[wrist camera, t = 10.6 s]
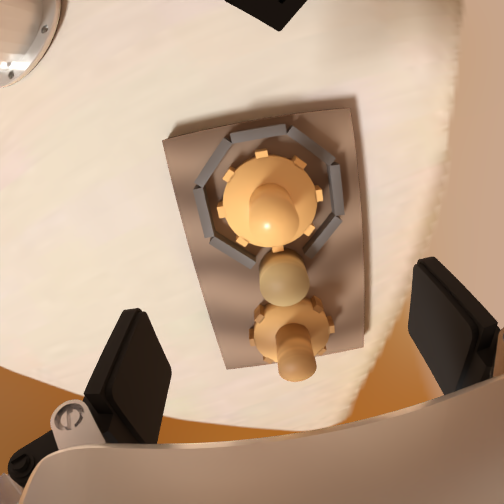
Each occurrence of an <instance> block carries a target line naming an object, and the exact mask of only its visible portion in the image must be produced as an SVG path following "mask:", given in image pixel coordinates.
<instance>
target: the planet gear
mask: <svg viewBox="0 0 504 504" xmlns="http://www.w3.org/2000/svg"><path fill="white" fill-rule="evenodd" d="M306 165H307V164H306V163H305V162H304V161H303V160H301V159H300V158H299V157H297V156H296V155H294V156H293V157H292V159H289V158H287V157H284V156H281V155H276V154H268V152H267V149H266V148H264V149H258V150H255V156H254V157H252V158H249V159H248V160H246V161H244V162H243V163H241V164H240V165H239V166H238V167H237V168H236V169H235V168H233V167H232V166H230V167H229V168H228V170H227V171H226V173H225V174H224V176H223V178H222V179H223V180H225V181H226V182H227V184H226V187H225V191H224V195H223V201H221V202H219V203H218V205H217V211H218V215H219V218H226V220H227V222H228V224H229V226H230V227H231V229H232V230H233V231H234V232H235V233H236V234H237V235H236V242H238V243H239V244H241V245H242V246H244V247H246V245H247V244H248V243H251V244H253V245H257V246H261V247H272V250H273V253H274V252H280V251H284V247H283V245H286V244H288V243H290V242H292V241H294V240H296V239H297V238H299V237H300V236H301V235H302V234H306V235H307V236H309V235H310V234H311V233H312V231H313V230H314V229H315V226H314V224H313V222H312V221H313V219H314V216H315V214H316V209H317V202H319V201H323V195H322V189H321V188H320V187H319V186H318V185H314V184H313V182H312V180H311V178H310V177H309V176H308V174H307V173H306V172H305V171H304V170H303V169H304V168H305V166H306Z"/></svg>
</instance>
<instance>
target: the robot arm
mask: <svg viewBox="0 0 504 504" xmlns="http://www.w3.org/2000/svg"><path fill="white" fill-rule="evenodd" d="M60 8H61V0H0V88H1V87H6V86H10V85H12V84H14V83H16V82H18V81H20V80H21V79H22V78H23V77H25V76H26V75H27V74H28V73H29V72H30V71H31V70H32V69H33V68H34V67H35V66H36V65H37V63H38V62H39V61H40V59H41V58H42V57H43V55H44V53H45V52H46V50H47V48H48V47H49V45H50V43H51V41H52V38H53V36H54V34H55V31H56V28H57V25H58V22H59V16H60ZM497 324H498V322H497V321H496V320H495V319H494V318H493V316H492V315H491V314H490V313H489V312H488V311H487V310H486V309H485V308H484V307H483V305H482V304H481V303H480V302H479V301H478V300H477V299H476V298H475V297H474V296H473V295H472V294H471V293H470V292H469V291H468V290H467V289H466V288H465V286H464V285H463V284H462V283H461V282H460V281H459V280H458V279H456V277H455V276H454V275H453V274H451V272H450V271H449V270H448V269H446V268H445V266H443V265H442V264H441V263H440V262H439V261H438V260H437V259H436V258H435V257H428V258H424V259H419V260H418V262H417V264H415V265H414V268H413V280H412V292H411V303H410V312H409V321H408V331H409V334H410V336H411V338H412V339H413V341H414V342H415V344H416V346H417V348H418V349H419V351H420V353H421V354H422V356H423V358H424V359H425V361H426V363H427V365H428V367H429V368H430V370H431V372H432V374H433V375H434V377H435V379H436V381H437V383H438V384H439V386H440V388H441V390H442V392H443V394H444V396H441V397H438V398H435V399H432V400H429V401H426V402H423V403H420V404H417V405H414V406H411V407H408V408H404V409H401V410H397V411H394V412H390V413H387V414H383V415H379V416H376V417H372V418H368V419H364V420H360V421H355V422H351V423H347V424H342V425H337V426H333V427H328V428H323V429H317V430H312V431H306V432H301V433H294V434H288V435H281V436H274V437H265V438H257V439H248V440H238V441H225V442H210V443H188V444H187V443H186V444H157V441H158V435H159V431H160V426H161V421H162V417H163V412H164V407H165V402H166V398H167V393H168V389H169V384H170V380H171V375H172V372H171V367H170V364H169V362H168V360H167V358H166V356H165V354H164V352H163V349H162V347H161V345H160V343H159V341H158V338H157V336H156V334H155V331H154V329H153V327H152V325H151V322H150V320H149V317H148V315H147V313H146V312H142V311H141V309H139V308H136V309H128V310H124V311H123V312H122V314H121V316H120V318H119V320H118V322H117V324H116V326H115V328H114V330H113V332H112V334H111V336H110V338H109V340H108V342H107V344H106V346H105V348H104V350H103V352H102V354H101V356H100V358H99V361H98V363H97V365H96V367H95V369H94V371H93V374H92V376H91V378H90V380H89V382H88V385H87V387H86V389H85V391H84V395H85V397H84V399H83V401H81V400H70V401H67V402H64V403H63V404H61V405H60V406H59V407H58V408H57V409H56V410H55V411H54V413H53V415H52V417H51V428H52V430H51V431H49V432H47V433H46V434H44V435H43V436H41V437H39V438H38V439H36V440H34V441H33V442H31V443H29V444H28V445H26V446H25V447H23V448H21V449H20V450H18V451H17V452H16V453H14V454H13V456H12V457H11V458H10V461H9V463H8V475H6V474H4V473H3V474H2V475H1V476H0V504H504V328H503V329H501V330H500V329H499V327H498V326H497Z"/></svg>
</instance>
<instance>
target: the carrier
mask: <svg viewBox="0 0 504 504" xmlns="http://www.w3.org/2000/svg"><path fill="white" fill-rule="evenodd" d="M162 142H163V147H164V151H165V155H166V159H167V164H168V168H169V172H170V176H171V180H172V184H173V188H174V192H175V196H176V200H177V204H178V208H179V211H180V215H181V219H182V223H183V227H184V230H185V234H186V238H187V241H188V245H189V248H190V252H191V256H192V259H193V263H194V266H195V270H196V273H197V276H198V280H199V283H200V287H201V290H202V293H203V297H204V300H205V303H206V307H207V310H208V313H209V316H210V320H211V323H212V326H213V329H214V332H215V335H216V339H217V342H218V345H219V348H220V351H221V354H222V357H223V360H224V363H225V366H226V369H235V368H243V367H251V366H259V365H266V364H273V363H278V370H279V374H280V376H281V377H282V378H283V379H285V380H287V381H292V382H298V381H303V380H305V379H308V378H309V377H311V376H312V375H313V374H314V373H315V371H316V361H315V357H316V356H322V355H327V354H332V353H337V352H342V351H347V350H352V349H357V348H361V347H364V252H363V230H362V214H361V200H360V187H359V176H358V166H357V157H356V148H355V140H354V132H353V125H352V118H351V111H350V108H341V109H331V110H321V111H313V112H305V113H297V114H290V115H283V116H276V117H270V118H264V119H258V120H252V121H247V122H241V123H236V124H231V125H226V126H221V127H216V128H211V129H206V130H202V131H198V132H193V133H189V134H185V135H180V136H176V137H172V138H168V139H165V140H162ZM264 148H266V149H267V152H268V154H276V155H281V156H284V157H287V158H289V159H292V157H293V156H294V155H296V156H297V157H299V158H300V159H301V160H303V161H304V162H305V163H306V164H307V165H306V166H305V168H304V169H303V170H304V171H305V172H306V173H307V174H308V176H309V177H310V178H311V180H312V182H313V184H314V185H318V186H319V187H320V188H321V189H322V195H323V201H319V202H317V209H316V214H315V216H314V219H313V221H312V222H313V224H314V226H315V229H314V230H313V231H312V233H311V234H310V235H309V236H307V235H306V234H302V235H301V236H300V237H299V238H297V239H296V240H294V241H292V242H290V243H288V244H286V245H283V247H284V251H280V252H274V253H273V250H272V247H261V246H257V245H253V244H251V243H248V244H247V245H246V247H244V246H242V245H241V244H239V243H238V242H236V235H237V234H236V233H235V232H234V231H233V230H232V229H231V227H230V226H229V224H228V222H227V220H226V218H219V215H218V211H217V205H218V203H219V202H221V201H223V195H224V191H225V187H226V184H227V182H226V181H225V180H223V179H222V178H223V176H224V174H225V173H226V171H227V170H228V168H229V167H230V166H232V167H233V168H235V169H236V168H237V167H238V166H239V165H240V164H241V163H243V162H244V161H246V160H248V159H249V158H252V157H254V156H255V150H258V149H264Z"/></svg>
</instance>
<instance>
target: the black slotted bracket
mask: <svg viewBox="0 0 504 504" xmlns="http://www.w3.org/2000/svg"><path fill="white" fill-rule="evenodd" d="M225 1H226V2H228V3H229V4H231V5H233V6H235V7H237V8H239V9H241V10H243V11H244V12H246V13H248V14H250V15H252V16H253V17H255V18H257V19H259V20H260V21H262V22H264V23H265V24H267V25H269V26H270V27H272V28H274V29H275V30H277V31H281V30H282V29H283V28H284V27H285V25H286V24H287V23H288V22H289V21H290V19H291V18H292V17H293V16H294V15H295V14H296V12H297V11H298V10H299V9H300V8H301V7H302V6H303V4H304V3H305V2H306V1H307V0H225Z"/></svg>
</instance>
